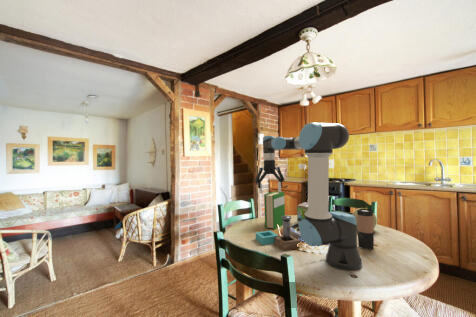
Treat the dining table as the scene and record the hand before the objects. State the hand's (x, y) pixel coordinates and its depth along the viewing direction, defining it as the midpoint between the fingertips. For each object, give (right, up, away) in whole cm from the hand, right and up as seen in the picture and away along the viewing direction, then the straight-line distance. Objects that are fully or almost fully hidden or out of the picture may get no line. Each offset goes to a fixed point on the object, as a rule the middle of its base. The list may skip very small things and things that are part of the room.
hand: (270, 192), depth 144 cm
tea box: (+31, -27, +22) cm, 46 cm away
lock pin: (+6, -26, -21) cm, 34 cm away
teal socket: (-4, -28, -13) cm, 31 cm away
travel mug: (+49, -26, -23) cm, 60 cm away
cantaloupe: (+63, -26, +4) cm, 68 cm away
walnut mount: (+6, -27, -21) cm, 35 cm away
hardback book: (+6, -28, +19) cm, 34 cm away
